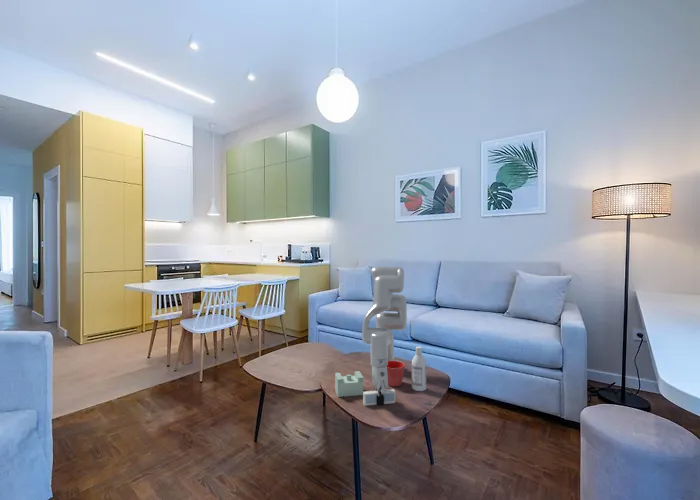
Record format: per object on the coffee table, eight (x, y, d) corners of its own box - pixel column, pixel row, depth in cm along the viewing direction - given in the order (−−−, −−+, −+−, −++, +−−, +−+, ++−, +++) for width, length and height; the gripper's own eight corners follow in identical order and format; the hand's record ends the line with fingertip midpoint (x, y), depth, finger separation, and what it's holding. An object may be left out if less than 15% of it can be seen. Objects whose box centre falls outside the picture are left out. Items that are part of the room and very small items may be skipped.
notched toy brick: (359, 387, 154) (359, 371, 154) (363, 394, 146) (363, 377, 146) (335, 389, 152) (335, 372, 152) (337, 397, 144) (337, 379, 144)
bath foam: (419, 384, 158) (419, 344, 158) (429, 389, 151) (429, 348, 151) (408, 387, 154) (408, 346, 154) (418, 392, 148) (418, 350, 148)
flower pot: (379, 381, 161) (379, 362, 161) (397, 377, 166) (397, 359, 166) (389, 389, 152) (389, 369, 152) (408, 385, 156) (408, 366, 156)
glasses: (393, 400, 141) (393, 389, 141) (395, 402, 138) (395, 391, 138) (363, 403, 139) (363, 391, 139) (364, 405, 136) (364, 394, 136)
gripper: (393, 367, 131) (393, 411, 131) (381, 354, 147) (382, 393, 147) (375, 368, 130) (376, 413, 130) (366, 355, 146) (366, 395, 146)
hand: (379, 402), depth 138 cm, fingers closed on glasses, 2 cm apart
